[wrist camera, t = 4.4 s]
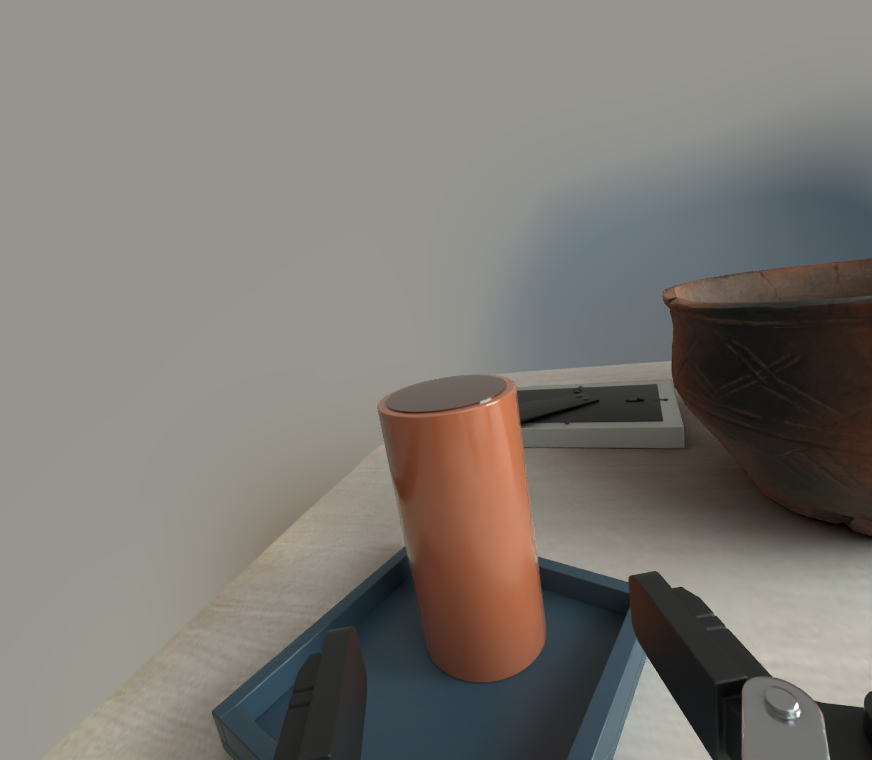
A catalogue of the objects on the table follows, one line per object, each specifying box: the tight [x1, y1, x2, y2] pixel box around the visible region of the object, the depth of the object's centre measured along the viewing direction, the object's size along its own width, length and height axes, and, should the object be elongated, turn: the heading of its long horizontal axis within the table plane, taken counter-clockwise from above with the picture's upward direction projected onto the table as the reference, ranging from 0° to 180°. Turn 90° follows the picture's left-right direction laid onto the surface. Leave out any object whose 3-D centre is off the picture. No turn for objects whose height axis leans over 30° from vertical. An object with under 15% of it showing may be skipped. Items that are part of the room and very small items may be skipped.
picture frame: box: [516, 380, 685, 448], centre depth 52 cm, size 16×3×21 cm
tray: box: [212, 547, 647, 760], centre depth 21 cm, size 15×16×2 cm
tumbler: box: [377, 375, 547, 683], centre depth 22 cm, size 6×6×13 cm
